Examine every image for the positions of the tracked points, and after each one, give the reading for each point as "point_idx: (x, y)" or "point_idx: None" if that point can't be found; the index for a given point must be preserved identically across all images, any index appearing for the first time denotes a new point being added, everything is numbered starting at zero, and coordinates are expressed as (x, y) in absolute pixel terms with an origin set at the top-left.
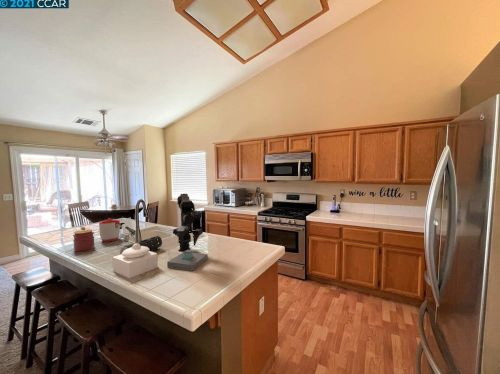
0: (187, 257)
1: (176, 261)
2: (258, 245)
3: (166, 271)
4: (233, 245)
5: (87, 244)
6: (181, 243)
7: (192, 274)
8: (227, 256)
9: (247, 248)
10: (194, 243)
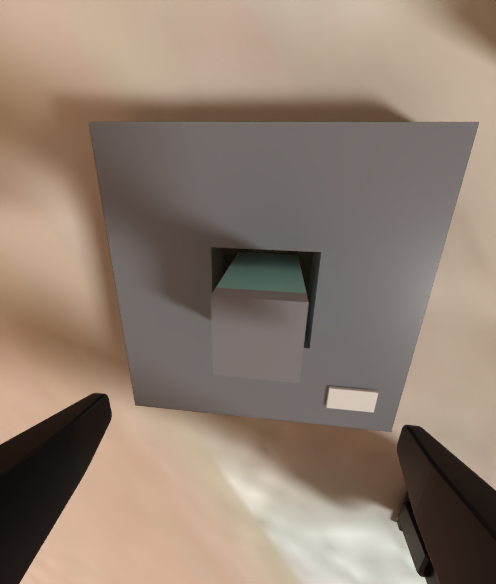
0: (250, 273)
1: (348, 169)
2: None
3: (396, 22)
4: (135, 570)
5: None
6: (419, 438)
7: (79, 49)
8: None
9: None
10: (43, 421)
